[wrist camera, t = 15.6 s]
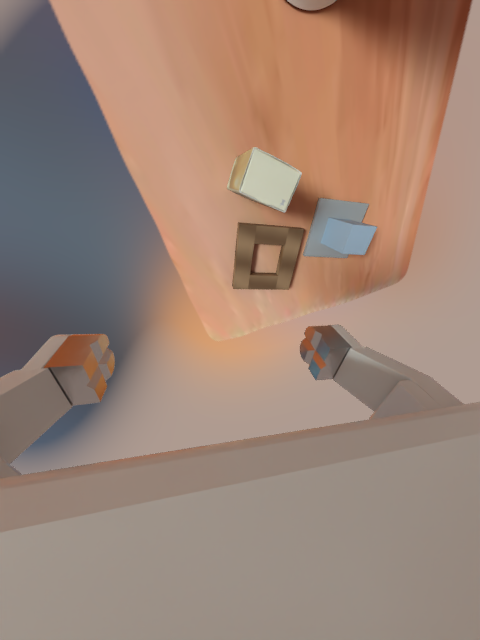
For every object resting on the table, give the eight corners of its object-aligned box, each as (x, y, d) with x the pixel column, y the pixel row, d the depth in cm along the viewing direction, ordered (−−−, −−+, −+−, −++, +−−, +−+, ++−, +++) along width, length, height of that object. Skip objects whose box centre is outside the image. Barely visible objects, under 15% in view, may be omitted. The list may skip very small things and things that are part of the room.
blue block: (328, 217, 37) (353, 224, 31) (349, 219, 38) (377, 226, 32) (320, 242, 39) (342, 253, 34) (340, 244, 40) (364, 254, 35)
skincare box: (271, 174, 32) (306, 173, 22) (260, 204, 34) (287, 214, 24) (233, 155, 30) (254, 143, 20) (224, 188, 32) (238, 192, 22)
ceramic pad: (318, 197, 35) (320, 198, 35) (366, 203, 37) (369, 203, 37) (302, 255, 41) (304, 256, 40) (345, 257, 43) (347, 258, 42)
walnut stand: (237, 222, 35) (239, 224, 34) (300, 227, 37) (304, 229, 36) (232, 285, 42) (233, 289, 40) (285, 286, 44) (288, 289, 43)
